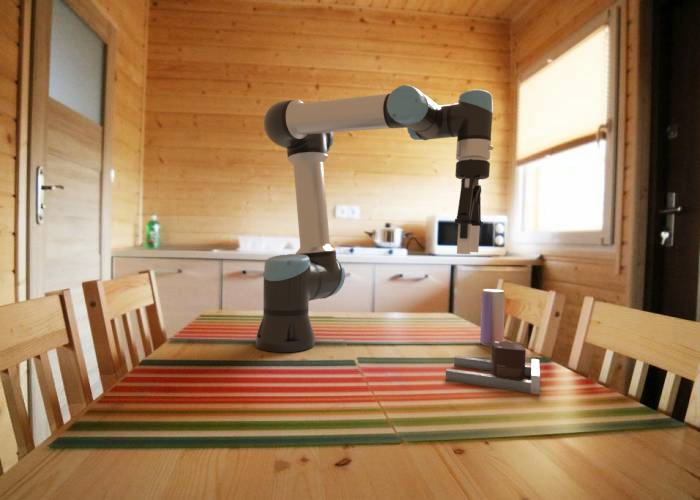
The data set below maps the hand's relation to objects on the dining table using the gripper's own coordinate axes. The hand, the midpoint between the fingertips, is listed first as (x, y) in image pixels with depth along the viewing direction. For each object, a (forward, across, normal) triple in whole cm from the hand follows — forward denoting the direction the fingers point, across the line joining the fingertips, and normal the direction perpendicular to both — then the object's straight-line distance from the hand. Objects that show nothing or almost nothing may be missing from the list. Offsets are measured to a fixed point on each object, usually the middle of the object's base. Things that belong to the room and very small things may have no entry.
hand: (468, 253), depth 99 cm
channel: (+25, -9, -7) cm, 28 cm away
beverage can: (+26, +20, -4) cm, 33 cm away
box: (+26, -9, -10) cm, 29 cm away
